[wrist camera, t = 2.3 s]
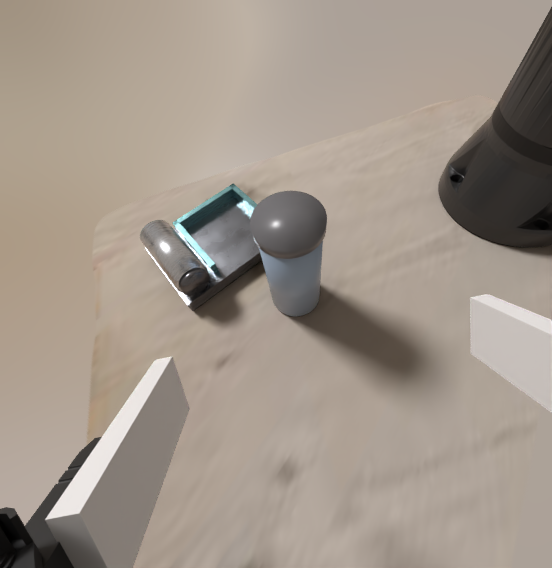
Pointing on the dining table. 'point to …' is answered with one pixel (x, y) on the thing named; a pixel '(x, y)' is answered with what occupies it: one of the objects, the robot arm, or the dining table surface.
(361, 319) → the dining table surface
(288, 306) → the ball
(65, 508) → the robot arm
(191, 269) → the motor mount
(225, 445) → the dining table surface
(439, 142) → the dining table surface
